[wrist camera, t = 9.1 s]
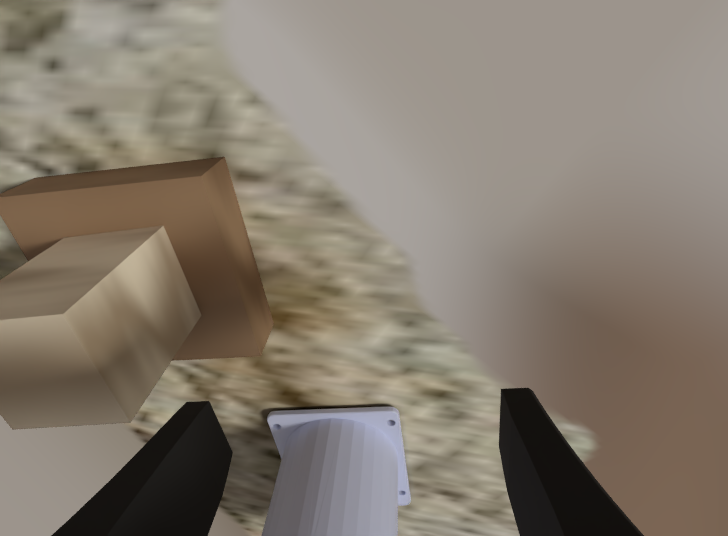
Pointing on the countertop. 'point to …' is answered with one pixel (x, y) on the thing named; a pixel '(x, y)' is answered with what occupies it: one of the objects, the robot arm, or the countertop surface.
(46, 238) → the walnut block
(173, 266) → the ash block
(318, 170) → the countertop surface
